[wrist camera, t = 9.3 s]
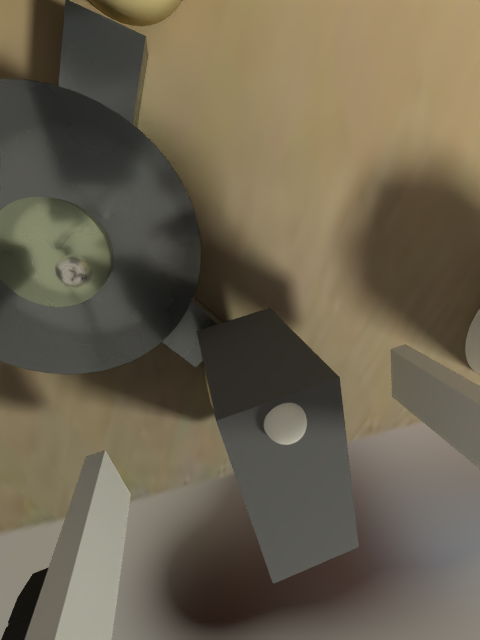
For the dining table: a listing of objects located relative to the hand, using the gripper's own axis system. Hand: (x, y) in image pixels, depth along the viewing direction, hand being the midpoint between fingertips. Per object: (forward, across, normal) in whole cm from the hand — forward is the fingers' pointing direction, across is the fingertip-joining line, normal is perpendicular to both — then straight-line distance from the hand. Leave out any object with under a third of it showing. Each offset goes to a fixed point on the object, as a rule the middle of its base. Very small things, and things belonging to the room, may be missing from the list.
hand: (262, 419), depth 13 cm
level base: (+4, -6, +9) cm, 12 cm away
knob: (+4, 0, 0) cm, 4 cm away
